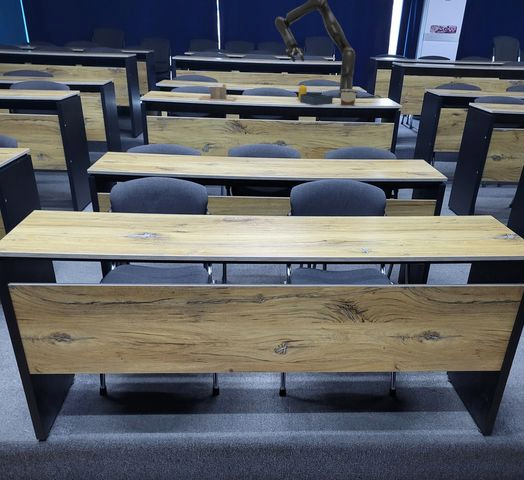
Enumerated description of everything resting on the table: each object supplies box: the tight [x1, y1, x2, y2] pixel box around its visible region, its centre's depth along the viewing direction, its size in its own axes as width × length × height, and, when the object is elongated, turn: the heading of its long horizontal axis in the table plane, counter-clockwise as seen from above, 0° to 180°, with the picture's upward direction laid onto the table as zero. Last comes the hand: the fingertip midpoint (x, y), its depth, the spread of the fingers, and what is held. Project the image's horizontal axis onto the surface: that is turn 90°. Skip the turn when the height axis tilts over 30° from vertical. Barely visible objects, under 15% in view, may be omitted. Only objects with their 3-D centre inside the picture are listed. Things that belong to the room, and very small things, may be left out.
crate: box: [299, 92, 334, 106], centre depth 378 cm, size 18×16×5 cm
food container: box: [340, 88, 358, 107], centre depth 372 cm, size 12×6×10 cm, turn 84°
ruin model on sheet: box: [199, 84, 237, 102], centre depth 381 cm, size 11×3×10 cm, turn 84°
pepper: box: [297, 83, 307, 101], centre depth 387 cm, size 6×6×11 cm
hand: (299, 60), depth 388 cm, fingers open, 8 cm apart
